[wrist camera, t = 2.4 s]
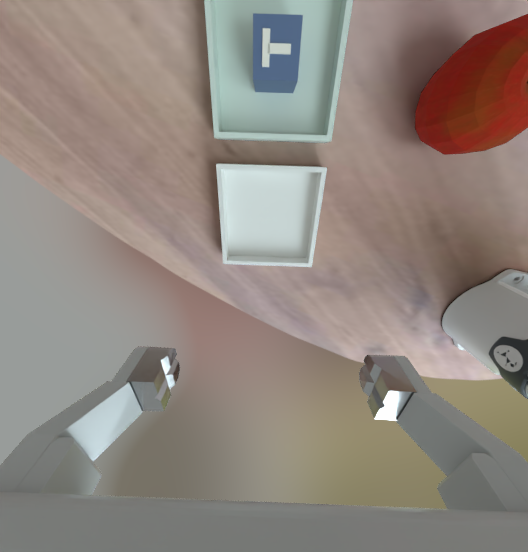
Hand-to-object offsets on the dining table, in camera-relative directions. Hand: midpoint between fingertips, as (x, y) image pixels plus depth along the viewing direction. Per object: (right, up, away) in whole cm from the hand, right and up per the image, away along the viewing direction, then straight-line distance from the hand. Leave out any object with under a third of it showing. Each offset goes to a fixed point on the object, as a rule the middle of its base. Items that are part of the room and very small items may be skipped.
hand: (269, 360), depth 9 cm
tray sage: (+1, +28, +16) cm, 32 cm away
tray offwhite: (+1, +13, +24) cm, 27 cm away
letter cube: (+1, +27, +15) cm, 31 cm away
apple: (+22, +25, +17) cm, 37 cm away
